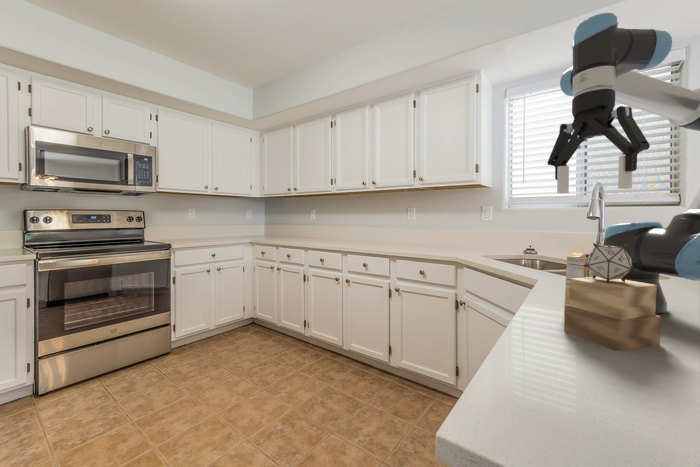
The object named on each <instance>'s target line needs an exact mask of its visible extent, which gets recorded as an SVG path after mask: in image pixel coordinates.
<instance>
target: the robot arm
mask: <svg viewBox="0 0 700 467" xmlns="http://www.w3.org/2000/svg"><path fill="white" fill-rule="evenodd" d="M618 26H619V22H618V16H617V15H615V13H613V12H603V13H602V12H601V13H597V14H595V15H592V16H590V17H587V18H586V19H584V20H583V21H581V22H580V23H579V24H578V25H577V26H576V27H575V28H574V31H573V38H572V39H573V40H572V46H571V49H572V66H571V67H570V68H568V69H567V70H565V71H564V72H563V74H562V75H561V77H560V80H559V86H560V90H561V91H562V93H563V94H564V95H565V96H568V97H573V98H572V99H571V100H572V101H571V114H572V116H573V120H572V121H573V122H572V123H562V124H560V126H559V132H558V136H557V138H556V141H555V143H554V146H553V147H552V151H551V152H550V155H549V157H548V160H547V165H548V166H552V167H554V170H555V171H554V175H555V176H554V179H555V180H556V183H557V186H556V188H557V190H556V194H569V192H570V190H569V189H570V186H569V185H570V184H569V183H570V182H569V181H570V180H569V179H570V166H569V165H567V164H568V163H569V161H570V159H572V156H573V155H574V154H575V152H577V150H578V149H579V147H580V146H581V144H582V143H584V142H585V141H586V140H588V139H593V138H594V137H602V136H604V137H606V138H607V139H608V140H609V141H610V143H612V144H613V145H614V146H615V147H616V148H617V149H618V150H620V152H622V153H621V155H619V156H618V175H617V176H618V177H617V178H618V182H617V189H621V190H624V189H625V190H626V189H627V190H628V189H632V188H633V172H635V171H636V170H637V169H638V164H637V163H638V155H639V153H641V152H643V151H647V150H649V149H650V147H651V144H650V143H649V141H648V139H647V138H646V137H645V135H644V133H643V131H642V130H641V128H640V127H639V125H638V123H637V122H636V120H635V119H634V117H633V111H632V110H633V108H635V109H638V110H640V111H644V112H647V113H649V114H653V115H656V116H659V117H663V118H666V119H668V122H669V123H670V124H671V125H674V126H677V127H680V128H684V129H688V130H691V131H697V132H700V88H694V89H690V88H686V87H682V86H680V85H676V84H674V83H671V82H667V81H665V80H662V79H659V78H655V77H652V76H649V75H645V74H642V73H640V72H636V71H634V70H637V71H638V70H639V71H642V70H649V69H653V68H655V67H657V66H659V65H660V64H662V63H663V61H665V60H666V58H667V57H668V55H669V54H670V52H671V50H672V47H673V45H672V44H673V38H672V35H671V33H669V32H668V31H666V30H665V31H664V30H659V29H654V28H649V29H648V28H643V29H642V28H623V27H618ZM616 103H619V104H621V105H620V106H617V108H616V109H615V106H616ZM622 105H624V106H622ZM614 109H615V110H614ZM614 120H617V121H618V123H619V125H620V126H621V129H622V131H624V133H625V135H626V137H627V138H626V137H625V136H624V135H623V134H622V133H620V132H619V131H618V129H617V128H616V127H615V126H614V125H613V124H612V123H613V122H614ZM608 243H612V245H611V246H617V247H623V246H624V245H627V247H626V248H625V250H626V251H627V253H628V254H629V256H630V257H631V258H636V259H635V260H632V268H634V269H636V270H637V271H632V270H631V271H630V272H629V273H627V274H626V275H625V276H624V277H623V278H624V279H625V280H630V281H636V282H642V283H648V284H654V285H657V290H656V309H655V315H657V314H665V313H667V311H668V302H667V299H666V298H665V294H664V292H663V289H662V285H661V284H660V283H661V282H660V275H665V276H670V277H675V278H676V277H677V278H681V279H685V280H691V281H700V188H699V189H698V191H697V193H696V195H695V196H694V198H693V199H692V202H691V203H690V205H689V206H688V208H687V210H686V211H684V212H680V213H678V214H677V213H676V214H674V216H673V217H672V219H671V221H670V222H669V224H668V226H666V227H664V226H663V225H662V222H659V221H645V222H644V221H643V222H642V221H641V222H640V221H639V222H630V223H629V222H625V223H617V224H611V225H609V226H607V227H606V229H605V232H604V238H603V246H609V245H608Z"/></svg>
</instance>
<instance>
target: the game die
mask: <svg viewBox="0 0 700 467" xmlns="http://www.w3.org/2000/svg"><path fill="white" fill-rule="evenodd" d="M592 244H593V247H594V248H593V249H592V251H591V252H590V255H587V254H588V253H585V254H586V255H585V256H586V257H588V262H587V265H586V264H585V265H583V267H587V266H588V268H589V271H591V273H592V274H593V275H591V277H593V278H595V277H596V276H597V277H600V278H603V279H607V280H606V282H607V283H609V280H613V279H621V280H622V281H624V282H625V279H624V278H623V277H624V276H625V275H626V274H627V273H629V272H630V271H631V270H632V271H637V270H636V269H634V268H632V260H635V259H636V258H631V257H630V256H629V254H628V253H627V251H626V250H625V248H626V247H627V245H624V246H623V247H617V246H611V245H612V243H608V245H609V246H604V245H597V243H596V242H595V243H594V242H593V243H592Z"/></svg>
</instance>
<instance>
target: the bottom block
mask: <svg viewBox="0 0 700 467" xmlns="http://www.w3.org/2000/svg"><path fill="white" fill-rule="evenodd" d="M564 308H565V315H564V321H563V322H564V323H563V325H564V326H563V331H566V332H568V333H570V334H573V335H576V336H578V337H580V338H582V339H585V340H587V341H590V342H593V343H596V344H598V345H600V346H603V347H606V348H608V349H610V350H613V351H616V352H618V351H625V350H632V349H633V350H634V349H639V348H647V347H648V348H649V347H654V346H655V347H656V346H661V327H662V326H661V325H662V324H661V323H662V316H661V315H657V314H655V315H651V316H645V317H639V318H633V319H626V320H617V319H614V318H610V317H607V316H603V315H600V314H596V313H593V312H589V311H585V310H582V309H578V308H575V307H571V306H569V304H567V305H565V304H564Z"/></svg>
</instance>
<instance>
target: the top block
mask: <svg viewBox="0 0 700 467" xmlns="http://www.w3.org/2000/svg"><path fill="white" fill-rule="evenodd" d="M606 280H607V279H603V278H600V277H597V276H596V277H595V278H593V277H592V276H589V277H583V278H572V279H570V294H569V306H571V307H575V308H578V309H582V310H585V311H589V312H593V313H596V314H600V315H603V316H607V317H610V318H614V319H617V320H626V319H633V318H639V317H645V316H651V315H656V314H655V309H656V290H657V285H654V284H648V283H642V282H636V281H630V280H625V282H624V281H622V280H621V279H613V280H609V283H607V282H606Z"/></svg>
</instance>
